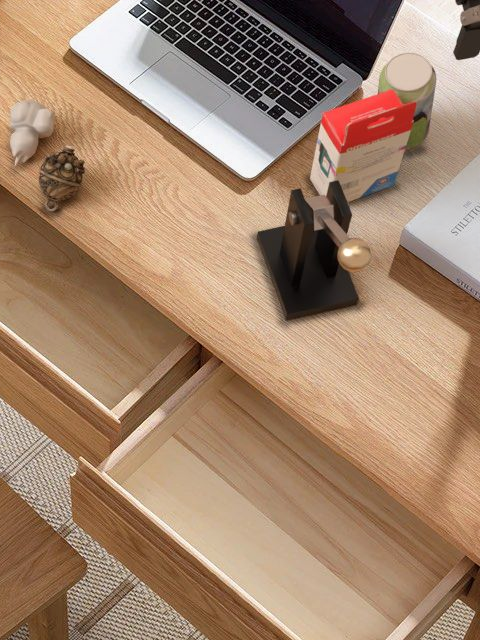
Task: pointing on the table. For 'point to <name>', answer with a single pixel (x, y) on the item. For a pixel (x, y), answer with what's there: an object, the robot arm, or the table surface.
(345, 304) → the lever base
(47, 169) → the pendant
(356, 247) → the lever with brass knob
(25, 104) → the white lobed figurine
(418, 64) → the beverage can
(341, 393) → the table surface
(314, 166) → the ink box
